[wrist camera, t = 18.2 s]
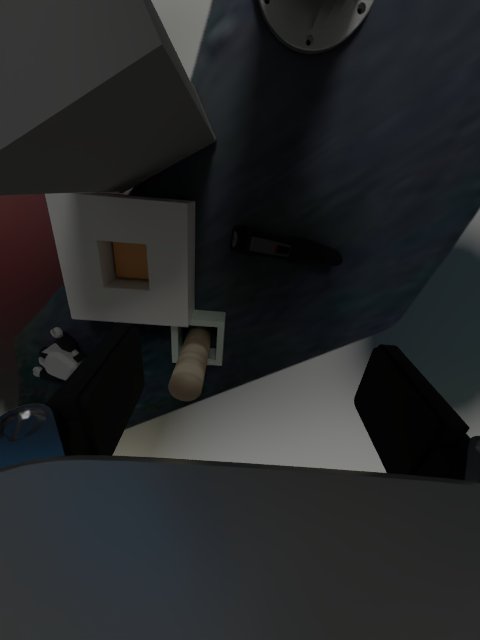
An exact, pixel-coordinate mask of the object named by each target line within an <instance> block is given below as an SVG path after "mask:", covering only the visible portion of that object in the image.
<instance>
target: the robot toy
mask: <svg viewBox="0 0 480 640" xmlns="http://www.w3.org/2000/svg"><path fill="white" fill-rule="evenodd" d="M50 333H51V334H52V336H53V337H55V338H58V339H57V340H55V344H53V345H51V346H50V347H44V348H42V349H41V350H40V352H39V355H40V356H41V357H40V358H39V363H40V364H41V365H42V366H44V368H43V369H42V368H41V367H35V368H34V369H33V371H34V372H33V374H34V375H35V376H37V377H39V376H40V378H41V379H43V380H49V381H52V380H56V379H59V378H60V379H63V381H64V382H65V381H66V380H67V379H68V377H69V376H70V375H71V374H72V373H73V372H74V370H75V369H76V368H77V367H78V366H79V365H80V364H81V362H82V361H83V360H84V359H85V357H86V356H85V355H84V354H83V353H82V352H80V353H79V352H78V351H77V350H76V348H75V341H74V340H73V339H72V338H71V336H70V335H69V334H68V333H66V334H65V335H63V331H62V329H60V328H59V327H56V328H54V329H52V330H51V332H50Z"/></svg>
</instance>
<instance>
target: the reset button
mask: <svg viewBox="0 0 480 640" xmlns="http://www.w3.org/2000/svg"><path fill="white" fill-rule="evenodd" d="M113 249H114V257H115V265H116V273H117V277H126V278H139V279H149V275H148V261H147V247H146V244H135V243H123V242H113Z"/></svg>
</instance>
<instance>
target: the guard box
mask: <svg viewBox="0 0 480 640" xmlns="http://www.w3.org/2000/svg"><path fill="white" fill-rule="evenodd" d="M45 196H46V201H47V205H48V210H49V214H50V219H51V224H52V229H53V233H54V238H55V242H56V247H57V252H58V256H59V261H60V266H61V270H62V275H63V280H64V284H65V289H66V294H67V298H68V303H69V308H70V312H71V317H72V319H81V320H95V321H109V322H123V323H137V324H151V325H164V326H178V327H188V326H189V323H190V320H191V318H192V315H193V313H194V310H195V201H189V200H177V199H166V198H154V197H143V196H131V195H120V194H108V193H97V192H82V193H50V194H45ZM113 242H123V243H135V244H146V247H147V261H148V275H149V279H139V278H126V277H117V273H116V265H115V257H114V249H113Z"/></svg>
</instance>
